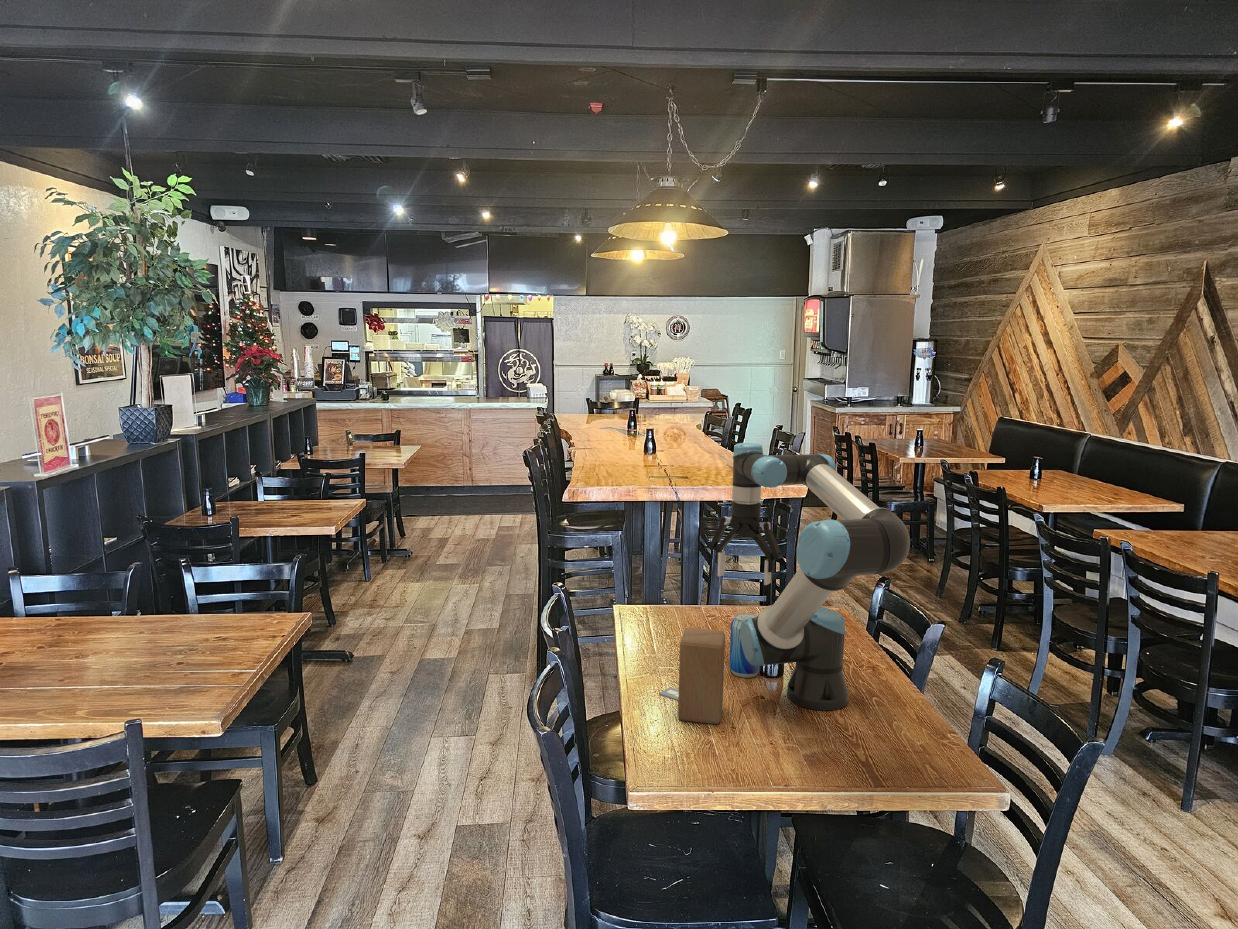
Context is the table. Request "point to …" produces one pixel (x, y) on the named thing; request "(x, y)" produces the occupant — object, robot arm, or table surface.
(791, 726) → the table surface
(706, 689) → the block
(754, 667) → the beer can
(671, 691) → the card
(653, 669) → the table surface
